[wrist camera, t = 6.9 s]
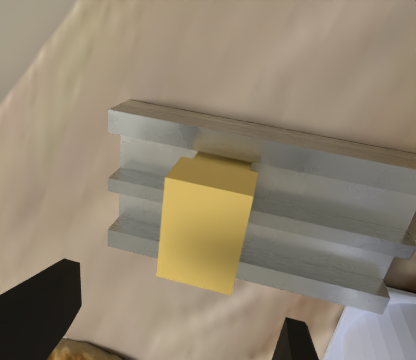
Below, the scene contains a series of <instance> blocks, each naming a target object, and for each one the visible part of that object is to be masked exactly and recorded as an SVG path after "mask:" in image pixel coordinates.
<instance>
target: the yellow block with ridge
mask: <svg viewBox="0 0 416 360" xmlns="http://www.w3.org/2000/svg"><path fill="white" fill-rule="evenodd" d="M251 164H252V162H249V161H244V160H239V159H234V158H229V157H225V156H220V155H215V154H210V153H205V152H200V151H198V152H197V154H196V155H195V156H194V158H193V159H191V158H186V157H181V158H180V159H179V160H178V162H177V163H176V164H175V165H174V167H173V168H172V169H171V170H170V172H169V173H168V174H167V175H166V177H165V183H164V195H163V207H162V218H161V230H160V241H159V253H158V264H157V276H158V277H162V278H166V279H170V280H173V281H177V282H181V283H185V284H189V285H193V286H197V287H200V288H204V289H208V290H212V291H216V292H220V293H224V294H228V295H231V296H232V291H233V287H234V282H235V278H236V273H237V269H238V264H239V260H240V255H241V251H242V246H243V242H244V237H245V233H246V228H247V224H248V219H249V215H250V210H251V206H252V201H253V197H254V192H255V186H256V181H257V176H258V172H253V171H250V169H251Z"/></svg>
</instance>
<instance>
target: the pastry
mask: <svg viewBox="0 0 416 360" xmlns="http://www.w3.org/2000/svg"><path fill="white" fill-rule="evenodd" d="M47 360H122V359H121V358H120V357H119V356H117V355H114V354H110V353H107V352H105V351H104V350H102V349H99V348H97V347H95V346H93V345H92V344H89V343H87V342H78V341H74V340H71V339H69V338H66V339H65V338H62V339H61V341H60V342H59V343H58V345H57V346H56V347H55V349H54V350H53V352H52V353H51V354H50V356H49V357H48V358H47Z"/></svg>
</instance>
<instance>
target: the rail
mask: <svg viewBox="0 0 416 360" xmlns="http://www.w3.org/2000/svg"><path fill="white" fill-rule="evenodd" d="M108 133H112V134H117V135H121V149H120V168H119V169H118V170H117V171H116V172H115V173H113V174H112V175H111V176H110V177H109V178H108V191H110V192H115V193H119V194H120V199H119V217H118V219H117V220H116V221H115V222H114V223H113V224H112V225H111V227H110V228H109V229H108V246H110V247H114V248H118V249H122V250H126V251H130V252H134V253H138V254H142V255H146V256H150V257H154V258H158V253H159V241H160V230H161V218H162V207H163V195H164V183H165V177H166V175H167V174H168V173H169V172H170V170H171V169H172V168H173V167H174V165H175V164H176V163H177V162H178V160H179V159H180V158H181V157H186V158H191V159H193V158H194V156H195V155H196V154H197V152H198V151H200V152H205V153H210V154H215V155H220V156H225V157H229V158H234V159H239V160H244V161H249V162H252V164H251V169H250V171H253V172H258V176H257V181H256V186H255V192H254V197H253V201H252V206H251V210H250V215H249V219H248V224H247V228H246V233H245V237H244V242H243V246H242V251H241V255H240V260H239V264H238V269H237V273H236V278H237V279H241V280H245V281H249V282H253V283H257V284H261V285H265V286H269V287H273V288H277V289H281V290H285V291H289V292H293V293H297V294H301V295H305V296H309V297H313V298H317V299H321V300H325V301H329V302H333V303H337V304H341V305H345V306H349V307H353V308H357V309H361V310H365V311H369V312H373V313H377V314H381V315H383V313H384V311H385V309H386V307H387V305H388V303H389V301H390V296H389V293H388V291H387V288H386V285H385V283H384V280H383V279H384V277H385V275H386V273H387V271H388V269H389V266H390V264H391V262H392V260H393V258H394V256H395V257H399V258H404V259H408V260H410V259H411V257H412V255H413V253H414V251H415V249H416V245H415V243H414V242H413V240H412V238H411V236H410V235H409V233H408V231H407V229H408V227H409V225H410V222H411V220H412V218H413V216H414V214H415V212H416V154H413V153H408V152H403V151H398V150H392V149H387V148H382V147H376V146H371V145H366V144H361V143H355V142H350V141H345V140H339V139H334V138H329V137H324V136H318V135H313V134H308V133H303V132H297V131H292V130H287V129H281V128H276V127H271V126H266V125H260V124H255V123H250V122H244V121H239V120H234V119H229V118H223V117H218V116H213V115H208V114H202V113H197V112H192V111H186V110H181V109H176V108H171V107H165V106H160V105H155V104H149V103H144V102H139V101H134V100H127V101H125V102H123V103H121V104H119V105H117V106H115V107H113V108H111V109H108Z"/></svg>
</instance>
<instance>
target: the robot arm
mask: <svg viewBox="0 0 416 360" xmlns="http://www.w3.org/2000/svg"><path fill="white" fill-rule="evenodd" d="M386 288H387V291H388V293H389V296H390V301H389V303H388V305H387V307H386V309H385V311H384V313H383V315H381V314H377V313H373V312H369V311H365V310H361V309H357V308H353V307H349V306H345V308H344V311H343V313H342V315H341V318H340V320H339V322H338V325H337V327H336V329H335V332H334V334H333V336H332V338H331V341H330V343H329V345H328V348H327V350H326V352H325V355H324V357H323V359H322V360H416V294H414V293H410V292H406V291H402V290H398V289H394V288H389V287H386ZM81 306H82V303H81V280H80V263H79V262H75V261H71V260H67V259H62V260H61V261H59V262H57V263H55V264H53V265H52V266H50V267H48V268H47V269H45V270H43V271H41V272H40V273H38V274H36V275H35V276H33V277H31V278H29V279H28V280H26V281H24V282H22V283H21V284H19V285H17V286H15V287H13V288H12V289H10V290H8V291H6V292H5V293H3V294H1V295H0V360H47V358H48V357H49V356H50V354H51V353H52V352H53V350H54V349H55V347H56V346H57V345H58V343H59V342H60V341H61V339H62V338H63V336H64V335H65V334H66V332H67V330H68V329H69V327H70V325H71V324H72V322H73V320H74V318H75V317H76V315H77V313H78V311H79V309H80V308H81ZM272 360H319V359H318V356H317V353H316V350H315V348H314V345H313V342H312V339H311V336H310V333H309V330H308V326H307V325H306V323H305V322H302V321H298V320H295V319H291V318H287V317H286V318H285V321H284V324H283V327H282V330H281V333H280V336H279V339H278V342H277V345H276V348H275V351H274V354H273V357H272Z"/></svg>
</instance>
